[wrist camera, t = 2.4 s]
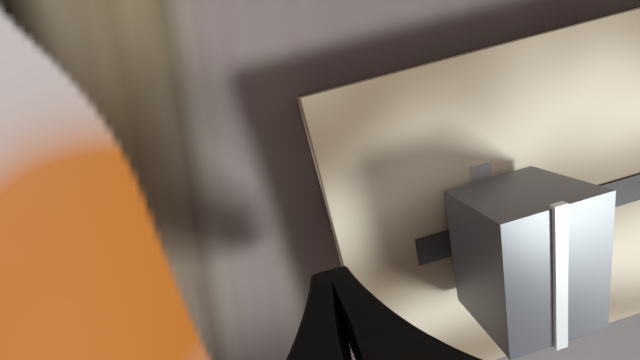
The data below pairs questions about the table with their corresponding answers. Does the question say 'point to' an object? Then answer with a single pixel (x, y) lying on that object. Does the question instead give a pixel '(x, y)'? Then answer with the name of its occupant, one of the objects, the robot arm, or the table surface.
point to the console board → (476, 158)
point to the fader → (533, 257)
